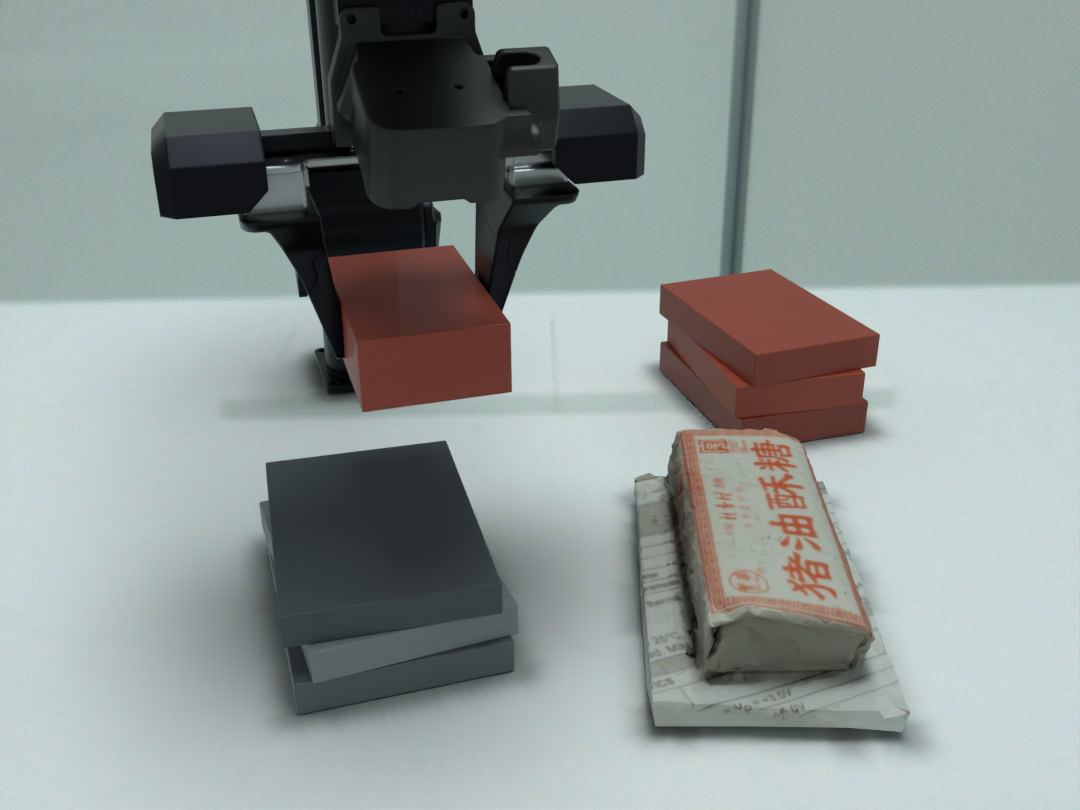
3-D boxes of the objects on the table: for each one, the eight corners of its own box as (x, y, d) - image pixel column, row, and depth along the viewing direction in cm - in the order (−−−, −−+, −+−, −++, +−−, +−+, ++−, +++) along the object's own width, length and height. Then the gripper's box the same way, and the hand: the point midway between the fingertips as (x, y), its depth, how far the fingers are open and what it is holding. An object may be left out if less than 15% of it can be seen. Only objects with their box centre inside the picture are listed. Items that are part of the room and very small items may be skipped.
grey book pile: (261, 543, 57) (251, 464, 55) (449, 512, 60) (445, 435, 58) (291, 719, 46) (280, 626, 44) (523, 671, 48) (521, 582, 46)
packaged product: (633, 416, 59) (831, 418, 58) (631, 498, 61) (821, 500, 60) (652, 633, 42) (926, 637, 42) (648, 735, 45) (908, 740, 44)
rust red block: (328, 319, 53) (322, 257, 52) (456, 305, 55) (453, 244, 53) (362, 413, 44) (356, 341, 43) (512, 392, 46) (511, 322, 45)
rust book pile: (651, 368, 76) (654, 282, 73) (772, 351, 78) (779, 267, 75) (736, 455, 65) (743, 357, 62) (873, 432, 67) (886, 337, 65)
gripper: (117, -7, 33) (192, 466, 40) (714, -31, 38) (689, 396, 45) (125, -43, 43) (185, 345, 50) (601, -58, 47) (595, 298, 54)
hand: (413, 346), depth 49 cm, fingers closed on rust red block, 6 cm apart
